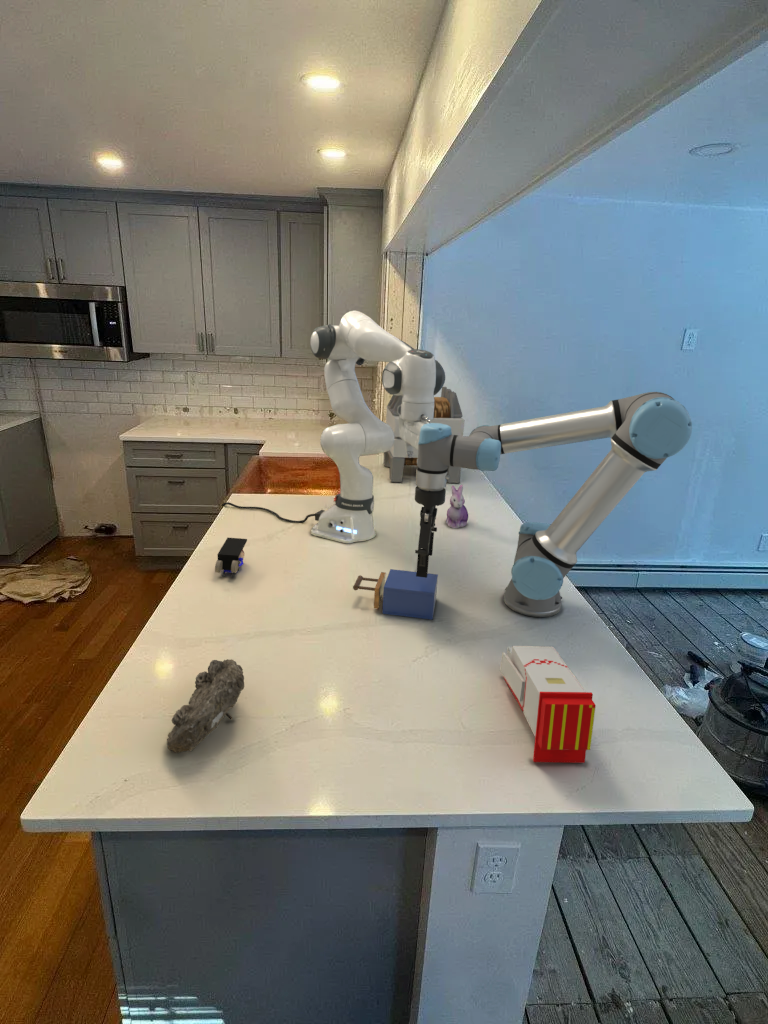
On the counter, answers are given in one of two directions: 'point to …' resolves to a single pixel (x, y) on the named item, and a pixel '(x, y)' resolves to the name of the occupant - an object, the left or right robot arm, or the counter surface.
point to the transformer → (444, 413)
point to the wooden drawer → (377, 589)
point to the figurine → (457, 509)
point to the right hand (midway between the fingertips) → (424, 565)
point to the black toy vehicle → (230, 556)
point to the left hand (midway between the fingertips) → (414, 461)
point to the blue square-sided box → (410, 594)
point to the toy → (550, 702)
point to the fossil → (206, 705)
